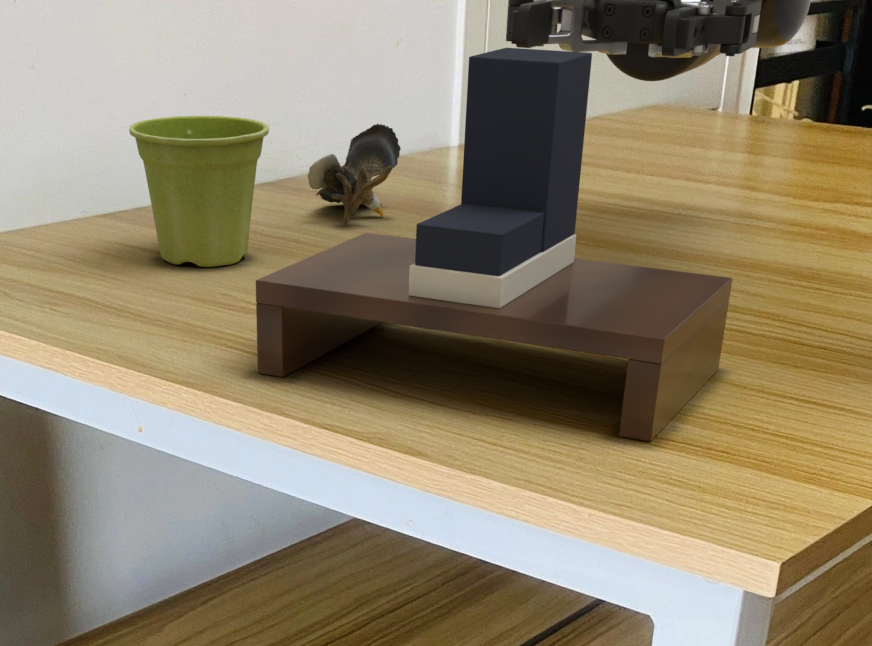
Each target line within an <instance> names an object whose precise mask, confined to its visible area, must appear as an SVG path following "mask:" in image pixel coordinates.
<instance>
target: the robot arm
mask: <svg viewBox="0 0 872 646" xmlns="http://www.w3.org/2000/svg"><path fill="white" fill-rule="evenodd" d="M811 2H812V1H811V0H508V1H507V15H506V31H505V41H506V42H511V45H515V46H516V48H520V49H532V48H535V47H544V46H545V45H558V46H559V48H560V49H561V51H569V52H585V53H590V52H598V53H600V54H605V55H606V56H607V58H608V59H609V61H610V62H611V63H612V64H613V66H615V67H616V69H617V70H619V71H620V72H622V73H623V74H625V75H626V76H628V77H630V78H633V79H635V80H638V81H643V82H659V81H664V80H669V79H672V78H674V77H677V76H679V75H682V74H685V73H687V72H690V71H692V70H695V69H697V68H699V67H702V66H704V65H705V64H707V63H709V62H710V61H711V60H713V59H714V58H716V57H717V56H720V55H722V54H724V55H725V57H735V56H736V55H741V54H743V53H744V52H746V51H749V50H750V49H768V48H769V49H770V48H776V47H778V48H779V47H781V46H783V45H785V44H787V43H788V42H790V41H792V39H793V38H795V36H796V35H797V33H798V32H799V31H800V29H801V28H802V26H803V25H804V23H805V21H806V19H807V15H808V13H809V10H810V7H811ZM558 25H560V29H559V30H558ZM582 36H584V37H587V38H590V39H583V37H582Z"/></svg>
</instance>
